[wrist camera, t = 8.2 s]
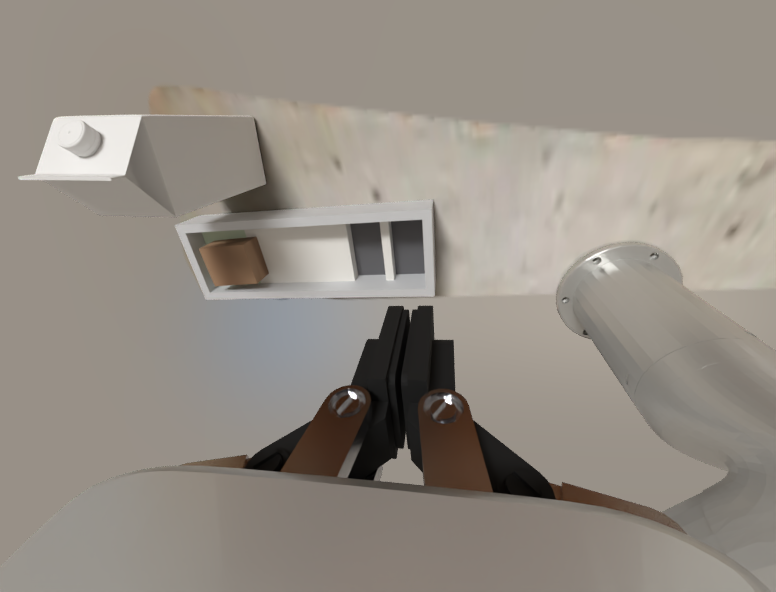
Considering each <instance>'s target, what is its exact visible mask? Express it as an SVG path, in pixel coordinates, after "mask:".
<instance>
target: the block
mask: <svg viewBox="0 0 776 592" xmlns="http://www.w3.org/2000/svg"><path fill="white" fill-rule="evenodd" d="M199 251H200V253H201V256H202V258H203V260H204V262H205V265H206V267H207V269H208V272H209V274H210V276H211V278H212V281H213V283H214V285H215V286H228V285H243V284H258V283H259V282H260V281H261V280H262V279H263V278H264V277H266V276H267V275H268V274H269V271H268V269H267V266H266V263H265V260H264V257H263V254H262V251H261V248H260V245H259V242H258V239H257V237H246V238H236V239H226V240H216V241H213V242H211V243H209V244H207V245H205V246H203V247H201V248H199Z"/></svg>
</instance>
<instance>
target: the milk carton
mask: <svg viewBox="0 0 776 592" xmlns="http://www.w3.org/2000/svg"><path fill="white" fill-rule="evenodd" d="M18 178H19V180H42V181H44V182H46V183H48V184H49V185H51V186H52V187H54V188H55V189H57V190H59V191H60V192H62V193H64V194H65V195H67V196H69V197H70V198H72V199H73V200H75V201H77V202H78V203H80V204H82V205H83V206H85V207H87V208H88V209H90V210H92V211H93V212H95V213H96V214H98V215H103V216H133V217H169V218H175V217H178V216H181V215H184V214H186V213H189V212H192V211H195V210H197V209H200V208H203V207H205V206H208V205H211V204H214V203H216V202H219V201H222V200H224V199H227V198H230V197H233V196H235V195H238V194H241V193H244V192H246V191H249V190H252V189H254V188H257V187H260V186H263V185H265V184H266V179H265V174H264V169H263V164H262V159H261V153H260V148H259V143H258V138H257V132H256V127H255V122H254V117H253V116H213V115H96V116H63V117H57V118H55V119H54V120H53V123H52V126H51V129H50V132H49V135H48V138H47V141H46V143H45V146H44V149H43V152H42V155H41V158H40V161H39V164H38V167H37V170H36V173H35V174H34V175H26V176H18Z"/></svg>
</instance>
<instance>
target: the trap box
mask: <svg viewBox="0 0 776 592" xmlns="http://www.w3.org/2000/svg"><path fill="white" fill-rule="evenodd" d="M175 227H176V230H177V232H178V235H179V237H180V239H181V242H182V244H183V246H184V249H185V251H186V254H187V256H188V258H189V261H190V263H191V265H192V268H193V270H194V273H195V275H196V277H197V280H198V282H199V284H200V287H201V289H202V292H203V294H204V296H205V299H206V300H208V299H284V298H360V297H435V285H436V269H435V239H434V209H433V199H431V200H416V201H402V202H387V203H373V204H358V205H343V206H329V207H314V208H300V209H285V210H271V211H256V212H241V213H227V214H212V215H200V216H197V217H195V218H192V219H189V220H187V221H184V222H182V223H179V224H177V225H175ZM246 237H257V239H258V242H259V245H260V248H261V251H262V254H263V257H264V260H265V263H266V266H267V269H268V271H269V274H268V275H267V276H266V277H264V278H263V279H262V280H261V281H260V282H259V283H258V284H243V285H228V286H215V285H214V283H213V281H212V278H211V276H210V274H209V272H208V269H207V267H206V265H205V262H204V260H203V258H202V256H201V253H200V251H199V248H201V247H203V246H205V245H207V244H209V243H211V242H213V241H216V240H226V239H236V238H246Z"/></svg>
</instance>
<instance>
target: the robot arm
mask: <svg viewBox="0 0 776 592" xmlns="http://www.w3.org/2000/svg"><path fill="white" fill-rule="evenodd" d="M594 258H595V259H594ZM593 259H594V260H593ZM564 297H565V298H564ZM556 305H557V310H558V313H559V315H560V317H561V319H562V320H563V322H564V323H565V325H566V326H567V327H568V328H570V329H571V330H572V331H573V332H575V333H576V334H578V335H580V336H583V337H585V338H588V339H592V341H593V342H594V344H595V345H596V347H597V349H598V350H599V351H600V353H601V355H602V356H603V357H604V359H605V361H606V362H607V364H608V365H609V367H610V368H611V370H612V371H613V373H614V374H615V376H616V377H617V379H618V380H619V382H620V383H621V385H622V386H623V388H624V389H625V391H626V392H627V394H628V395H629V397H630V399H631V400H632V402H633V403H634V405H635V406H636V407H637V409H638V410H639V412H640V413H641V415H642V416H643V417H644V419H645V421H646V422H647V424H648V425H649V426H650V427H651V428H652V430H653V431H654V432H655V433H656V434H657V435H658V436H659V437H660V438H661V439H662V440H664V441H665V442H666V443H667V444H669V445H670V446H672V447H673V448H675V449H676V450H679V451H680V452H682V453H684V454H686V455H688V456H690V457H692V458H694V459H697V460H699V461H701V462H704V463H706V464H709V465H712V466H714V467H717V468H720V469H723V470H726V471H729V472H728V474H727V476H726V477H725V478H724V479H722V480H721V481H720V482H718V483H716V484H714V485H713V486H711V487H709V488H707V489H705V490H704V491H703V492H702V493H700V494H698V495H696V496H694V497H692V498H689V499H687V500H685V501H684V502H681V503H679V504H677V505H675V506H673V507H671V508H669V509H667V510H665V511H663V512H659V511H657V510H655V509H652V508H650V507H647V506H643V505H640V504H636V503H633V502H629V501H626V500H622V499H619V498H616V497H612V496H609V495H605V494H602V493H598V492H595V491H591V490H588V489H585V488H581V487H578V486H574V485H571V484H567V483H564V482H562V484H561V486H559V485H556V484H552V483H549V482H548V481H547V480H546V479H545V478H544V477H543V476H542V475H541V474H540V473H539V472H538V471H537V470H536V469H534V468H533V467H532V466H531V465H529V464H528V463H527V462H525V461H524V460H523V459H522V458H520V457H519V456H518V455H517V454H515V453H514V452H512V450H510V449H509V448H508V447H506V446H505V445H504V444H503V443H501V442H500V441H499V440H498V439H496V438H495V437H494V436H492V435H491V434H490V433H489V432H487V431H486V430H485V429H484V428H482V427H481V426H480V425H479V424H477V423H476V422H475V421H473V418H472V415H471V411H470V407H469V405H468V403H467V400H466V399H465V398H464V397H463V396H462V395H461V394H459V393H457V392H456V391H455V372H454V342H453V340H434V323H433V306H418V310H413V311H412V317H411V322H410V317H409V310H404V307H403V306H389V307H388V310H387V313H386V316H385V320H384V323H383V326H382V329H381V333H380V336H379V339H368V340H367V342H366V344H365V347H364V350H363V352H362V356H361V358H360V361H359V364H358V367H357V369H356V372H355V375H354V378H353V380H352V383H351V385H348V386H343V387H340V388H338V389H336V390H334V391H333V392H331V393H330V394H329V395H328V397H327V398H326V399H325V400H324V402H323V404H322V405H321V407H320V408H319V410H318V412H317V414H316V415H315V417H314V418H313V420H312V421H310V422H308V423H306V424H305V425H303V426H301V427H300V428H298V429H296V430H295V431H293V432H291V433H290V434H288V435H286V436H284V437H282V438H281V439H279V440H277V441H276V442H274V443H272V444H270V445H269V446H267V447H265V448H263V449H262V450H260V451H259V452H258V453H256V454H255V455H254V456H253V457H252V458H248V456H247V455H241V456H235V457H227V458H220V459H213V460H205V461H199V462H191V463H186V464H182V465H179V466H165V467H164V466H163V467H155V468H149V469H143V470H137V471H133V472H130V473H126V474H123V475H119V476H116V477H113V478H111V479H108V480H106V481H103V482H100V483H98V484H96V485H94V486H92V487H91V488H89V489H87V490H85V491H84V492H82V493H81V494H79V495H78V496H77V497H76V498H74V499H73V500H71V501H70V502H69V503H68V504H66V505H65V506H64V507H63V508H62V509H60V510H59V511H58V512H57V513H56V514H55V515H54V516H53V517H52V518H50V519H49V520H48V521H47V522H46V523H45V524H44V525H43V526H42V527H41V528H40V529H38V530H37V531H36V532H35V533H34V534H33V535H32V536H31V537H30V538H29V539H28V540H27V541H26V542H25V543H24V544H23V545H22V546H21V547H20V548H19V549H18V550H17V551H15V552H14V553H13V554H12V555H11V556H10V558H8V559H7V560H6V561H5V562H4V563H3V564H2V565H1V566H0V592H776V350H775V349H773V348H771V347H770V346H768V345H767V344H765V343H764V342H763V341H761V340H760V339H759V338H757V337H756V336H755V335H753V334H752V333H750V332H749V331H747V330H746V329H745V328H743V327H742V326H740V325H739V324H737V323H736V322H734V321H733V320H731V319H730V318H729V317H727V316H726V315H724V314H723V313H722V312H720V311H719V310H717V309H716V308H714V307H713V306H711V305H710V304H709V303H707V302H706V301H704V300H703V299H702V298H700V297H699V296H697V295H696V294H694V293H693V292H692V291H690V290H689V289H687V288H686V287H684V286H683V278H682V273H681V270H680V267H679V266H678V264H677V263H676V261H675V260H674V259H673V258H672V257H671V256H669V255H668V254H667V253H665V252H664V251H662V250H660V249H659V248H656V247H654V246H651V245H648V244H643V243H637V242H623V243H618V244H612V245H608V246H605V247H602V248H599V249H597V250H595V251H593V252H591V253H589V254H587V255H586V256H584V257H583V258H581V259H580V260H579V261H577V262H576V263H575V264H574V265H573V266H572V267H571V268H570V269H569V270H568V271H567V273H566V274H565V275H564V277H563V278H562V280H561V282H560V284H559V287H558V291H557V294H556ZM405 434H406V435H407V444H408V449H410V450H411V460H412V461H413V462H414V464H415V465H416V466H417V467H418V468H419V469H420V470H421V471H422V472H423V479H424V486H422V485H412V484H402V483H392V482H381V481H380V478H381V475H382V470H383V467H382V465H383V464H384V463H386V462H387V461H389V460H390V459H391V458H393V459H396V458H397V451H398V448H404V442H405Z"/></svg>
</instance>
